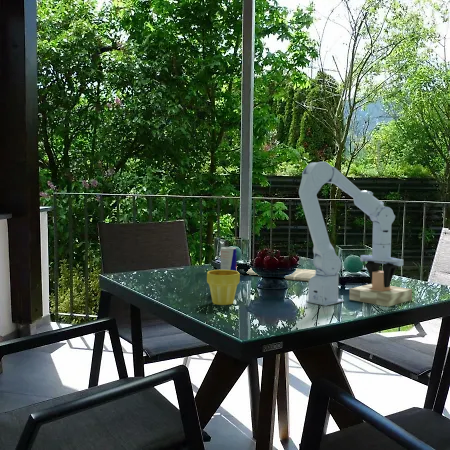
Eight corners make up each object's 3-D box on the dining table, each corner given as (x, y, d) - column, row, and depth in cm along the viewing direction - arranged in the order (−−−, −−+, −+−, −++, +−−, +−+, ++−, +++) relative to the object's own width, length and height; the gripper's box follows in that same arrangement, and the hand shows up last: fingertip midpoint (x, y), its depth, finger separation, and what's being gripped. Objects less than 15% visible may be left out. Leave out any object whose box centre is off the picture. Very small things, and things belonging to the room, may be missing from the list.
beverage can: (235, 291, 193) (235, 248, 192) (219, 291, 194) (219, 248, 193) (237, 288, 198) (237, 246, 197) (222, 288, 200) (222, 246, 198)
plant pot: (245, 304, 174) (245, 273, 173) (216, 308, 169) (216, 276, 168) (230, 298, 183) (229, 268, 182) (201, 301, 178) (201, 271, 177)
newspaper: (230, 274, 230) (230, 268, 230) (254, 268, 246) (254, 262, 246) (312, 283, 210) (312, 276, 210) (332, 276, 226) (333, 269, 226)
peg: (382, 295, 177) (383, 273, 176) (371, 293, 180) (372, 271, 179) (389, 293, 179) (390, 272, 179) (378, 291, 182) (379, 270, 182)
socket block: (387, 306, 170) (388, 295, 169) (349, 299, 180) (349, 288, 180) (411, 299, 179) (412, 289, 179) (374, 293, 189) (374, 283, 189)
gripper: (409, 244, 175) (407, 287, 176) (369, 240, 186) (368, 281, 187) (396, 246, 171) (395, 290, 172) (356, 242, 181) (356, 283, 183)
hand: (380, 285), depth 179 cm, fingers closed on peg, 4 cm apart
